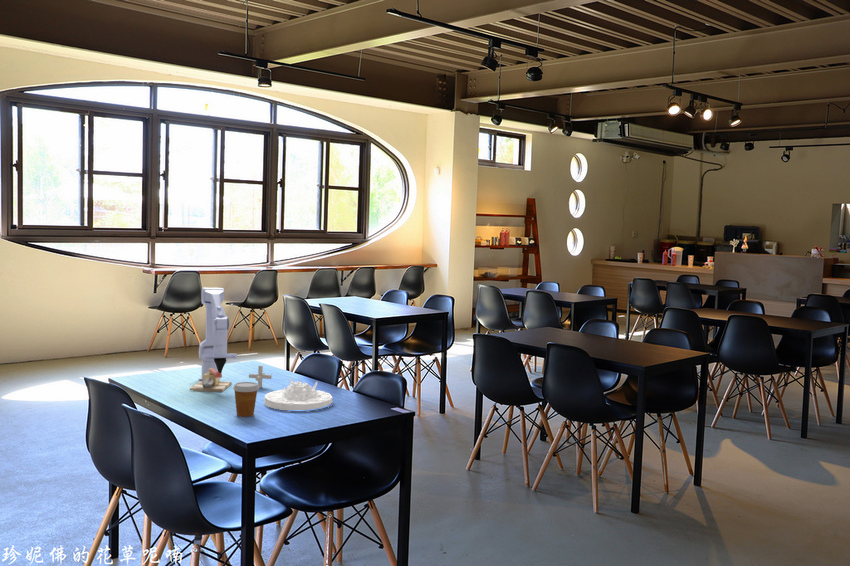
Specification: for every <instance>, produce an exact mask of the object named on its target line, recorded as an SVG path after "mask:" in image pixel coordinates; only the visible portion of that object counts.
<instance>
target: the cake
mask: <svg viewBox="0 0 850 566" xmlns="http://www.w3.org/2000/svg"><path fill="white" fill-rule="evenodd" d="M289 383H290V385H287V387H286V388H285V386H282V387H283V389H278V390H274V391H270V392H267V393H266V394H265V395H264V400H263V401H264V406H265V405H266V406H265V407H267V406H268V407H267V408H269V407H271V408H274V409H273V410H275V409H280V410H308V409H316V408H321V407H324V406H327V405H329V404H331V403H332V404H333V398H334V397H333V396H332V395H331V393H329V392H326V391H324V390H319V389H317V386H318V381H316V382H315V383H314V384H313V387H312V385H310V384H309V383H307V382H306V381H305V382H302V381H301V380H298V381H294V380H293V378H291V379H290V382H289ZM316 389H317V390H316ZM271 408H270V409H271ZM280 410H279V411H280Z"/></svg>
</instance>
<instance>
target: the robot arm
mask: <svg viewBox="0 0 850 566" xmlns="http://www.w3.org/2000/svg"><path fill="white" fill-rule="evenodd" d="M200 293H201V296H200V297H201V299H200V301H201V305H203V306H204V307H205V339H204V340H203V341H201V342H200V343H199V345H198V347H199V348H198V359H199V360H201V377H200V378H198V380H199V381H203V375H204V374H205V373H207V372H209V368H214V369H215V370H216V371H217V372H220V373H221V374H222V372H223V368H224V366H225V364H226V363H227V360H228V359H234V360H235V359H238V354H237V353H228V331H229V329H230V319H229V317H228V316H227V315H226V311H225V308H224V307H223V306H222V303H223V301H224V300H225V297H226V296H225V289H224V288H223V287H204V286H203V287H202V288H201V292H200Z"/></svg>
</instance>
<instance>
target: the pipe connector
mask: <svg viewBox="0 0 850 566" xmlns="http://www.w3.org/2000/svg"><path fill="white" fill-rule="evenodd" d="M263 367H264V365H261V364H260V365H258V368H257V370H258V372H257V373H256V374H255V373H249V375H248V378H249V379H255V381H257V384H258V387H259V388H258V389H261V388H263V380H264V379H265V380H267V379H268V380H272V377H273V376H272V374H265V372H263Z"/></svg>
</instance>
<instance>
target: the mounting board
mask: <svg viewBox="0 0 850 566" xmlns="http://www.w3.org/2000/svg"><path fill="white" fill-rule="evenodd" d="M202 382H203V380H199V381H198V382H197V383H195V384H194V385H192V386H191V387H189V391H190V390H193V391H192V392H213V393H217V392H218V393H222V392H224V391H225V390H226V389H227V388H229V387H230V386H231V385H232V381H220V382H219V384H218V385H217V386H216V387H214V386H212V388H203V386H202Z"/></svg>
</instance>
